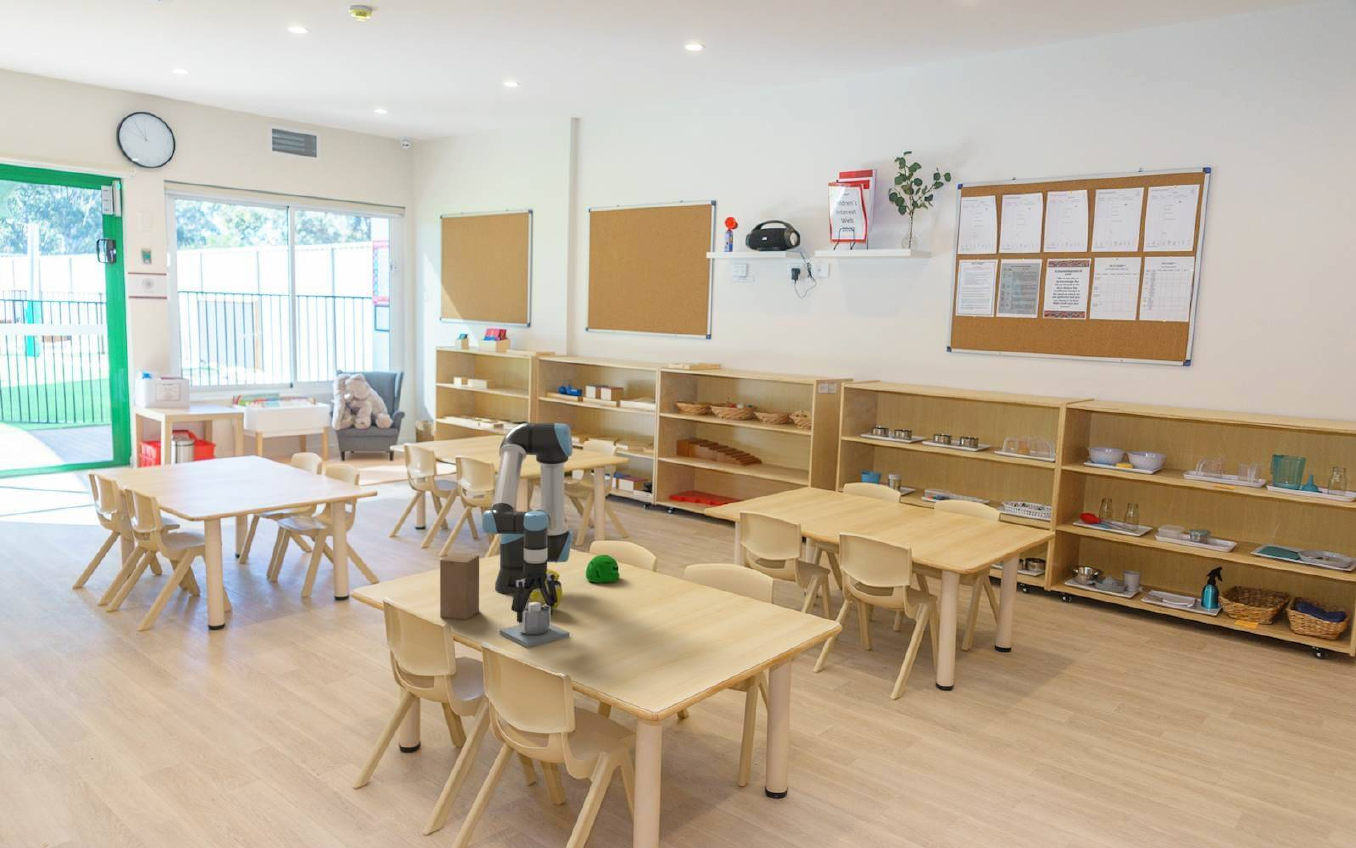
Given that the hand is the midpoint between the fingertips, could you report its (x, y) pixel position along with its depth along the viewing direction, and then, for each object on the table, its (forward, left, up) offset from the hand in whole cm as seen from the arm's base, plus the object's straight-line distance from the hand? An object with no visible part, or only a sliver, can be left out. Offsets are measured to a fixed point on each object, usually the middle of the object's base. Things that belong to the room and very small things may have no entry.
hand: (534, 628), depth 293 cm
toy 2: (-56, -35, -3) cm, 66 cm away
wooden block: (+8, -33, -3) cm, 34 cm away
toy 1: (-17, -18, -3) cm, 25 cm away
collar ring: (0, 0, 0) cm, 0 cm away
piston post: (0, 0, -2) cm, 2 cm away
